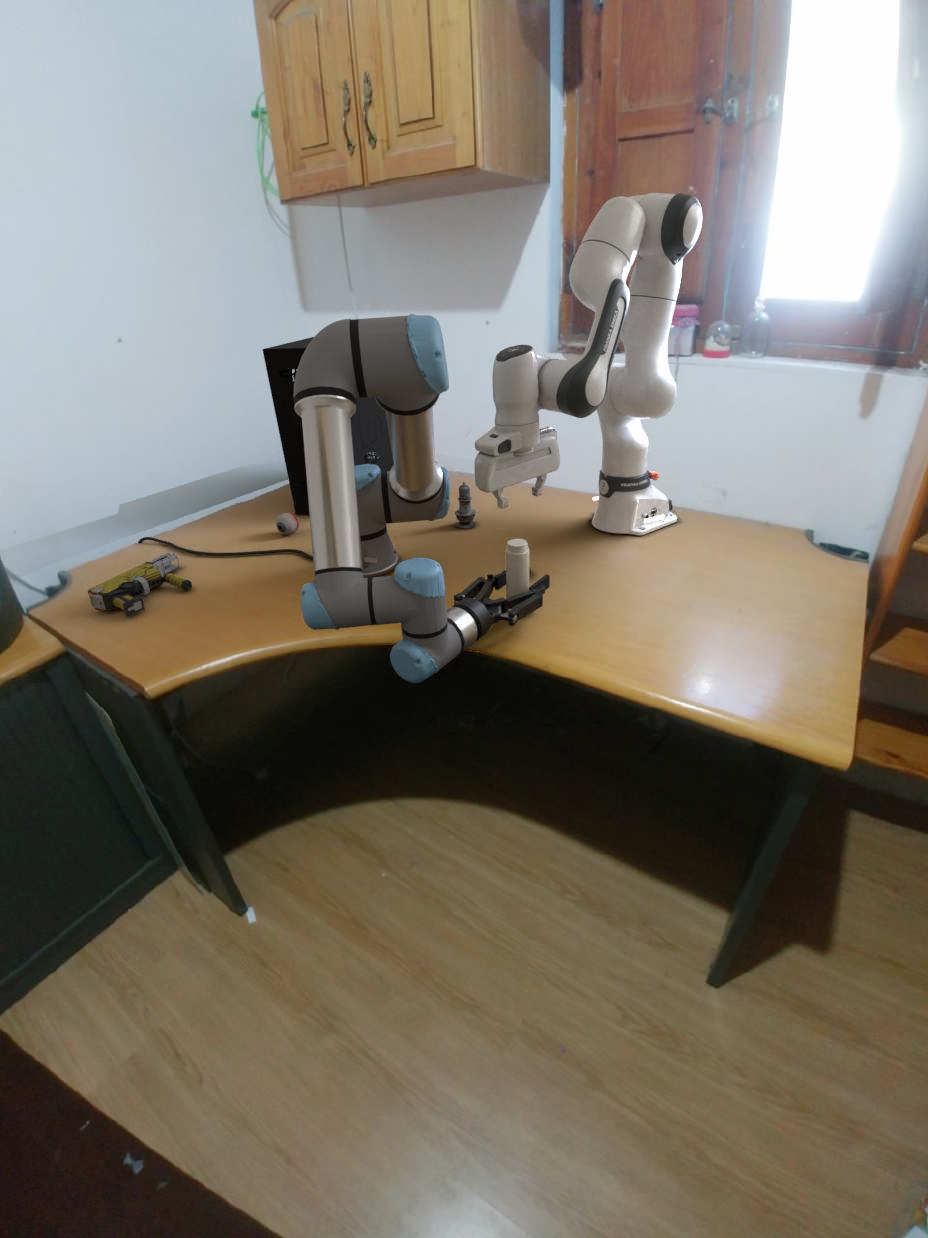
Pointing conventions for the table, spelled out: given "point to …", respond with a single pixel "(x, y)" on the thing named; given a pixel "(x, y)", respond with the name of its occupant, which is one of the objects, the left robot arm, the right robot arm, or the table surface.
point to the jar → (517, 567)
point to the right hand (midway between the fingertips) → (520, 501)
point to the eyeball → (287, 523)
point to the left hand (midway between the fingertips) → (530, 576)
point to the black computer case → (364, 424)
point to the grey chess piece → (465, 508)
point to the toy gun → (136, 585)
